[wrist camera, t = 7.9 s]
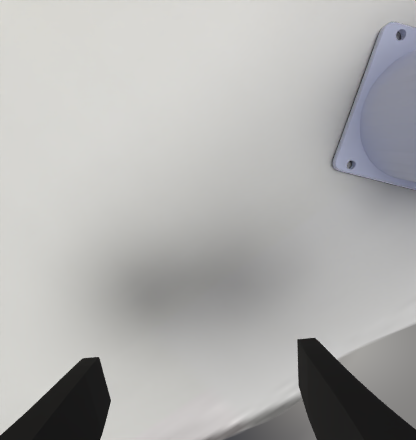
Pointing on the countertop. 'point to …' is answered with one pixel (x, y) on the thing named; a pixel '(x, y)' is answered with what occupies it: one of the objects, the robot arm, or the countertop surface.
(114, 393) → the countertop surface
